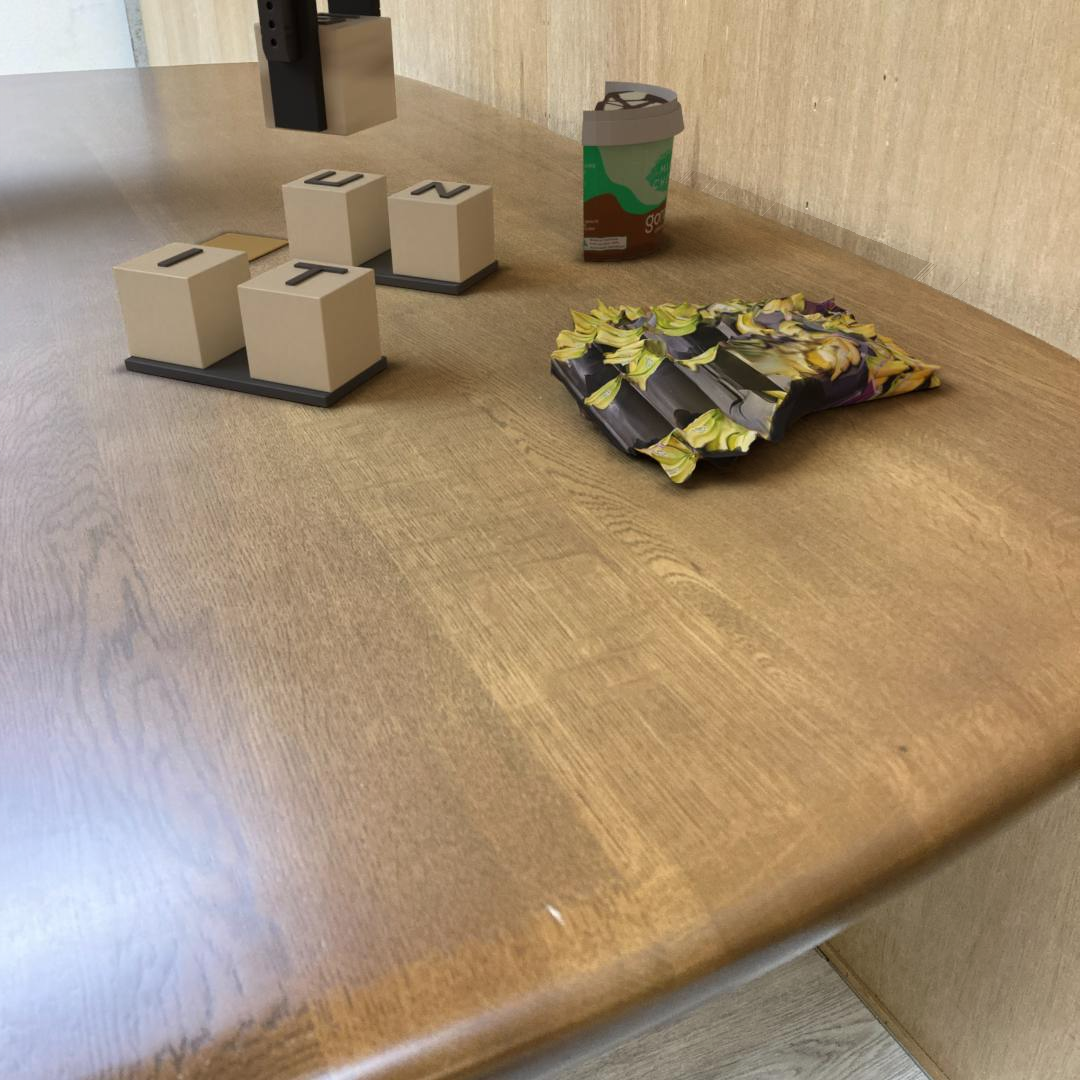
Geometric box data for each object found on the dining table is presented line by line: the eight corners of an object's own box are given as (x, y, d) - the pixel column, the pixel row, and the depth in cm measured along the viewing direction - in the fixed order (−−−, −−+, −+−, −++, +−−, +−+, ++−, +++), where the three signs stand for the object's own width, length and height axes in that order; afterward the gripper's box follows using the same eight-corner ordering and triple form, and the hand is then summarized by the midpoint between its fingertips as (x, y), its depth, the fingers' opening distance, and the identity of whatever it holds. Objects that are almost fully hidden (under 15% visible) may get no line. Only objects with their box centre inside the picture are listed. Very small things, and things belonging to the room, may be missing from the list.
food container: (671, 271, 76) (679, 114, 71) (580, 267, 77) (581, 112, 72) (684, 221, 87) (691, 81, 81) (603, 218, 87) (606, 79, 82)
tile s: (265, 128, 59) (252, 19, 57) (319, 111, 63) (310, 8, 60) (347, 136, 57) (337, 25, 55) (397, 118, 61) (391, 13, 59)
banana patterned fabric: (816, 327, 69) (861, 230, 65) (973, 508, 59) (1039, 406, 54) (512, 324, 61) (541, 213, 57) (631, 533, 51) (677, 416, 46)
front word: (125, 369, 62) (104, 266, 59) (196, 333, 67) (179, 236, 64) (327, 408, 58) (314, 298, 55) (387, 366, 62) (379, 262, 59)
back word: (177, 255, 80) (162, 171, 77) (230, 233, 85) (218, 153, 82) (457, 295, 72) (453, 203, 69) (498, 268, 77) (496, 181, 74)
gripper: (216, -525, 40) (292, 161, 52) (459, -427, 54) (474, 94, 66) (53, -501, 42) (161, 146, 54) (325, -414, 56) (363, 85, 68)
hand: (332, 117), depth 60 cm, fingers closed on tile s, 5 cm apart
